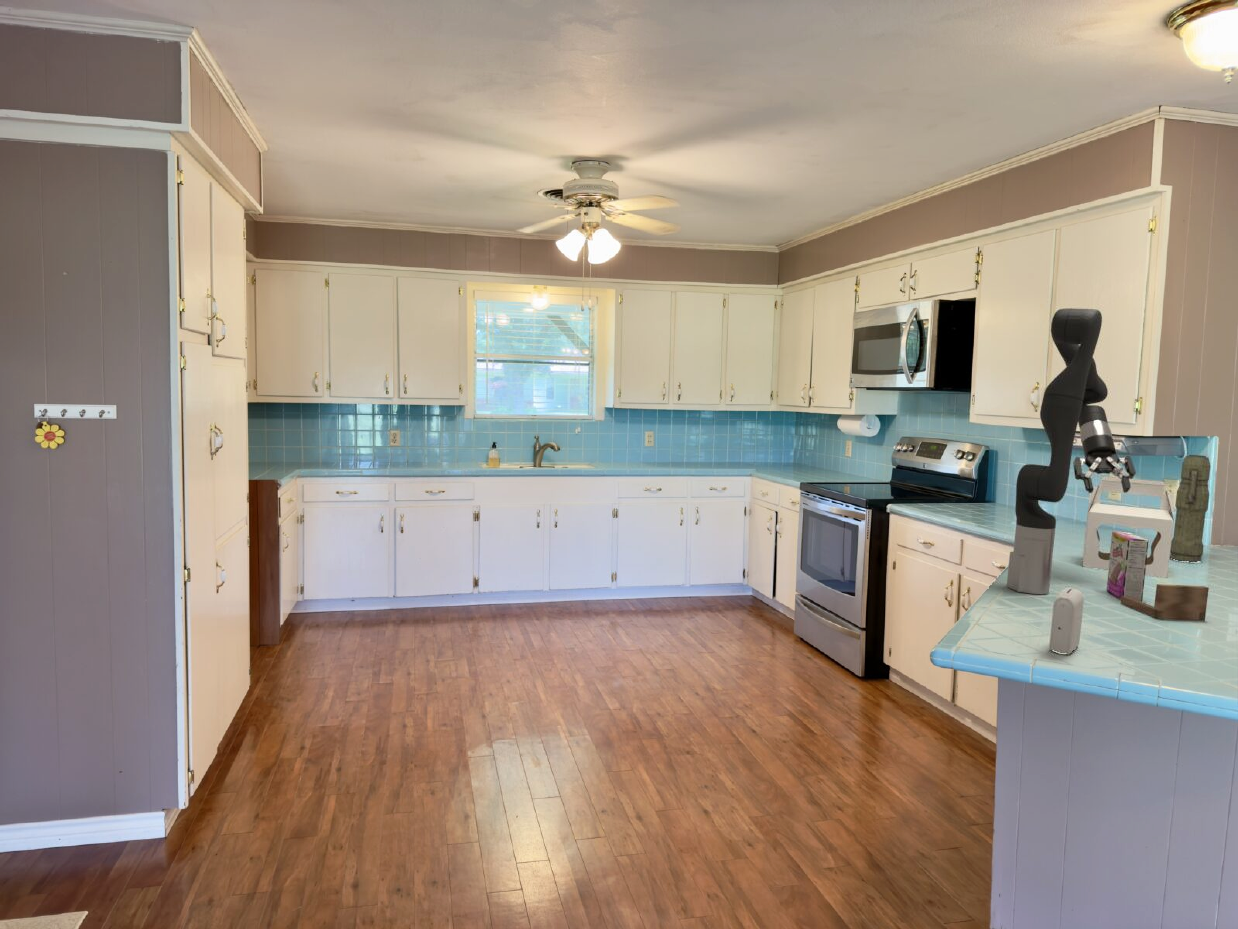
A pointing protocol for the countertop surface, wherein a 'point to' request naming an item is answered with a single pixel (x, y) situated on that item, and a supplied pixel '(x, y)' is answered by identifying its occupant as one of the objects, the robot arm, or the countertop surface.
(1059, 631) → the photo printer
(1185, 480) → the moai statue
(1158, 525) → the gable box
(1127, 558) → the candy bar box
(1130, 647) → the countertop surface
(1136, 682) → the countertop surface
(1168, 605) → the walnut rack
